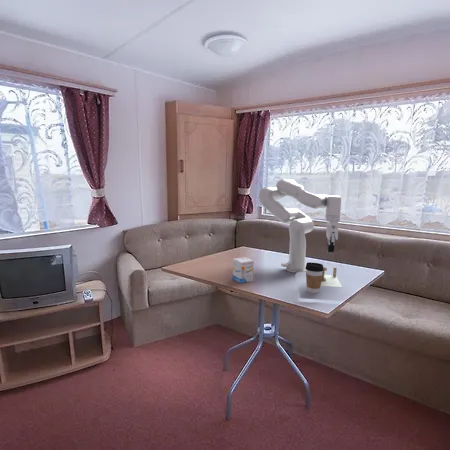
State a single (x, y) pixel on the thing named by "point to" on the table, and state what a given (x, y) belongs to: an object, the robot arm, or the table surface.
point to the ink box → (243, 269)
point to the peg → (328, 244)
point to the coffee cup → (314, 277)
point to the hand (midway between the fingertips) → (330, 250)
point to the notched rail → (333, 271)
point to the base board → (331, 281)
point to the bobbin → (323, 275)
